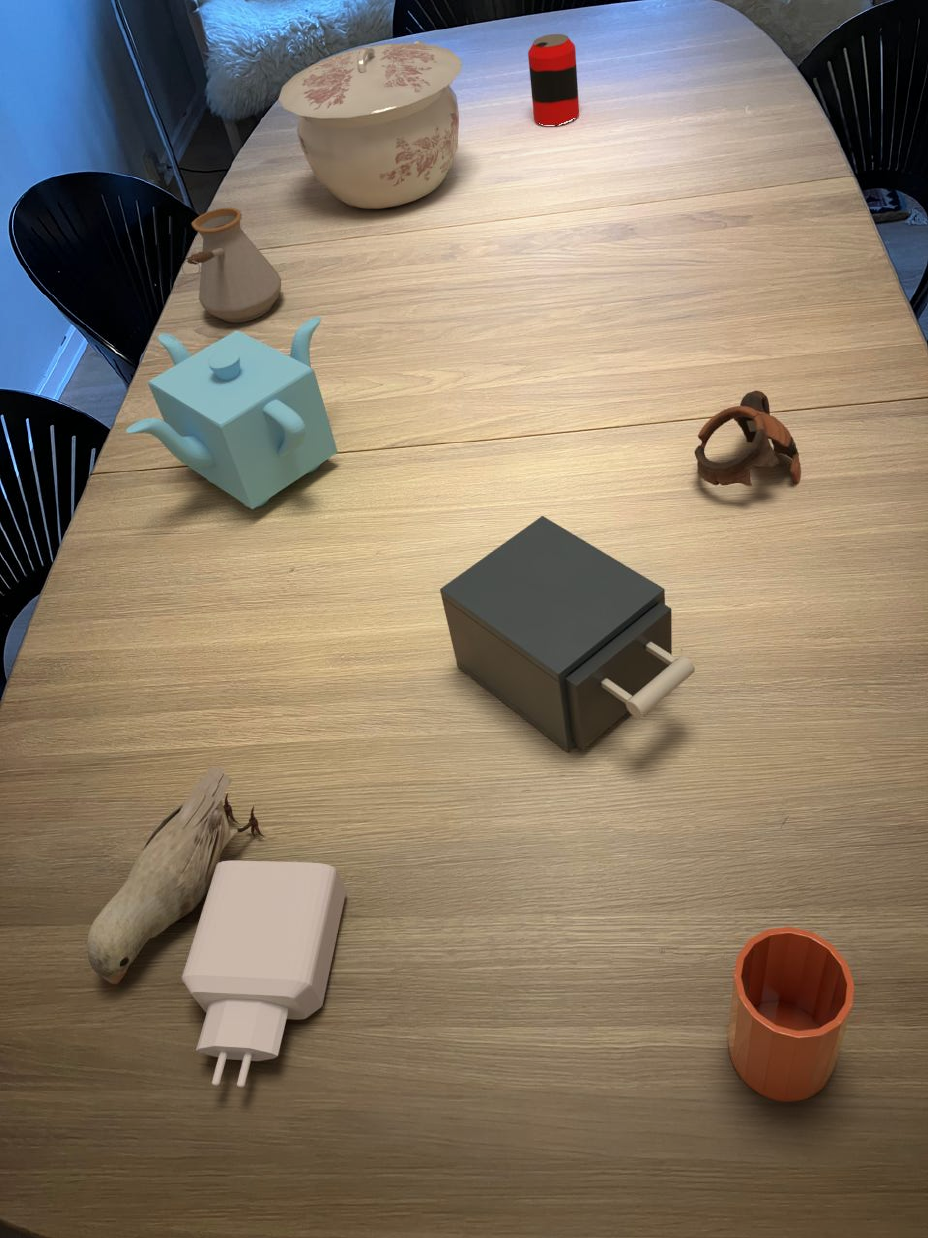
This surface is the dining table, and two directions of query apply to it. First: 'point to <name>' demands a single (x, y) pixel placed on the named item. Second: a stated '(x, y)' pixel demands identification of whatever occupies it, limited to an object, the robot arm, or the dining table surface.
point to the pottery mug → (757, 432)
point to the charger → (262, 955)
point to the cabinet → (541, 618)
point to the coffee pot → (232, 269)
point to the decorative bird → (165, 876)
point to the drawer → (625, 676)
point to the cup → (788, 1012)
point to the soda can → (553, 79)
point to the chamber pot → (378, 121)
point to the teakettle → (242, 413)
